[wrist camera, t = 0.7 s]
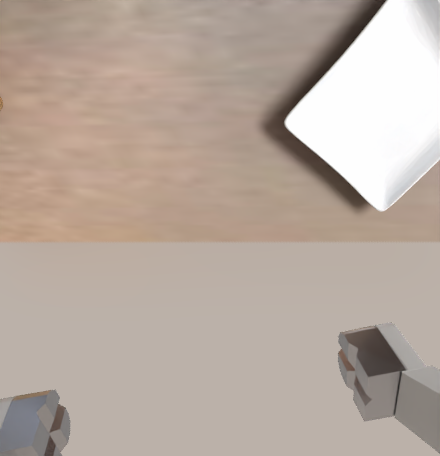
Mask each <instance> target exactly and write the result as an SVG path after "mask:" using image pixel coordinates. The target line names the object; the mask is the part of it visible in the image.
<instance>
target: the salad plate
mask: <svg viewBox="0 0 440 456" xmlns="http://www.w3.org/2000/svg"><path fill="white" fill-rule="evenodd" d="M284 125H285V127H286V128H287V129H288V130H289V131H290V132H291V133H292V134H293V135H294V136H295V137H296V138H298V139H299V140H300V141H301V142H302V143H304V144H305V145H306V146H307V147H308V148H310V149H311V150H312V151H313V152H314V153H316V154H317V155H318V156H319V157H320V158H322V159H323V160H324V161H325V162H326V163H327V164H328V165H330V166H331V167H332V168H333V169H334V170H335V171H337V172H338V173H339V174H340V175H341V176H342V177H343V178H344V179H345V180H346V181H347V182H348V183H349V184H350V185H351V186H352V187H353V188H354V189H355V190H356V191H357V192H358V193H359V194H360V195H361V196H362V197H363V198H364V199H365V200H366V201H367V202H368V203H369V204H370V205H372V206H373V207H374V208H375V209H377V210H378V211H385V210H386V209H388V208H389V207H390V206H391V205H392V204H393V203H395V202H396V201H397V200H398V199H399V198H400V197H401V196H402V195H403V194H404V193H405V192H406V191H407V190H409V189H410V188H411V187H412V186H413V185H414V184H415V183H416V182H417V181H418V180H419V179H420V178H421V177H422V176H423V175H424V174H425V173H426V172H427V171H428V170H429V169H430V168H432V167H433V166H434V165H435V164H436V163H437V162H438V161H439V160H440V0H386V1H385V3H384V4H383V5H382V6H381V8H380V9H379V10H378V12H377V13H376V14H375V15H374V17H373V18H372V19H371V21H370V22H369V23H368V24H367V26H366V27H365V28H364V29H363V30H362V32H361V33H360V34H359V35H358V37H357V38H356V39H355V40H354V41H353V43H352V44H351V45H350V46H349V47H348V49H347V50H346V51H345V52H344V53H343V54H342V56H341V57H340V58H339V59H338V60H337V61H336V62H335V63H334V65H333V66H332V67H331V68H330V69H329V70H328V71H327V72H326V73H325V74H324V76H323V77H322V78H321V79H320V80H319V81H318V82H317V83H316V84H315V85H314V86H313V87H312V89H311V90H310V91H309V92H308V93H307V94H306V95H305V96H304V97H303V98H302V99H301V100H300V101H299V102H298V104H297V105H296V106H295V107H294V108H293V109H292V110H291V111H290V113H289V114H288V115H287V117H286V118H285V121H284Z"/></svg>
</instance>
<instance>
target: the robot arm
mask: <svg viewBox="0 0 440 456" xmlns="http://www.w3.org/2000/svg"><path fill="white" fill-rule="evenodd" d="M338 342H339V344H340V346H341V348H342V349H341V350H340V351H339V353H338V362H339V368H340V372H341V375H342V377H343V379H344V382H345V384H346V385H347V387H349V388H350V389H352V390H353V391H354V397H353V400H354V402H355V404H356V406H357V408H358V410H359V412H360V414H361V416H362V418H363V420H364V421H369V420H375V419H380V418H386V417H392V416H395V418H396V419H397V420H398V421H399V422H401V423H402V424H403V425H405V426H406V427H407V428H408V429H409V430H411V431H412V432H413V433H415V434H416V435H417V436H418V437H420V438H421V439H422V440H423V441H425V442H426V443H427V444H428V445H430V446H431V447H432V448H434V449H435V450H436V451H437V452H438V453H440V370H439V369H437V368H436V367H434V366H426V365H425V364H424V362H423V361H422V360H421V358H420V357H419V356H418V354H417V353H416V352H415V350H414V349H413V348H412V347H411V345H410V344H409V343H408V341H407V340H406V339H405V337H404V336H403V335H402V333H401V332H400V331H399V329H398V328H397V327H396V325H395V324H393V323H392V322H390V323H385V324H380V325H375V326H369V327H364V328H360V329H354V330H350V331H345V332H340V334H339V341H338ZM59 399H60V397H59V395H58V393H57V392H56V390H49V391H43V392H37V393H31V394H25V395H20V396H15V397H9V398H4V399H0V456H62V454H61V453H60V452H61V451H62V450H63V448H64V447H65V446H66V445H67V443H68V440H69V435H70V418H69V414H68V412H67V410H66V408H65V407H63V406H61V405H59V404H58V403H59Z"/></svg>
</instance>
